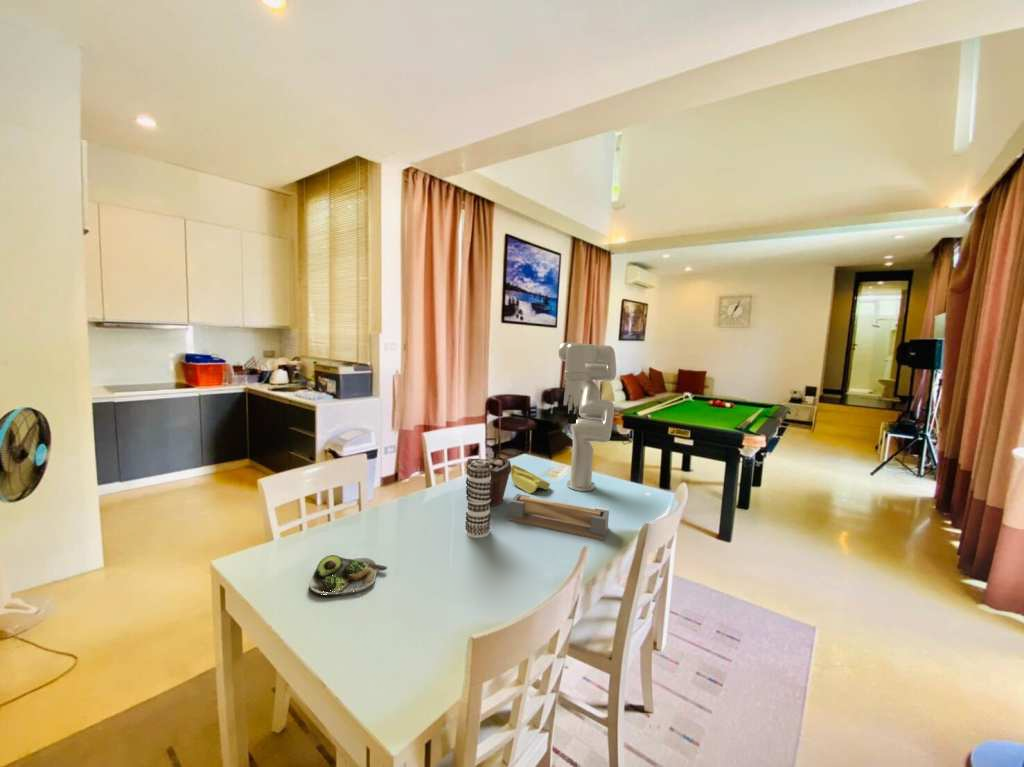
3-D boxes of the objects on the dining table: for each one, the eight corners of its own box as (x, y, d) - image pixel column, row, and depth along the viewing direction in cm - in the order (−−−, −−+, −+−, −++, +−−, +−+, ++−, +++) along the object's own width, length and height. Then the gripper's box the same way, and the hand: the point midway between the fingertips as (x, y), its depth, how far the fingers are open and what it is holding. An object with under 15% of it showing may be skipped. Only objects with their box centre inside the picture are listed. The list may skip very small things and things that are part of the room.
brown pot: (519, 497, 176) (520, 456, 174) (492, 514, 160) (493, 468, 158) (485, 488, 186) (486, 449, 184) (456, 502, 169) (456, 460, 167)
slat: (521, 508, 160) (521, 495, 159) (600, 524, 149) (601, 510, 149) (518, 511, 157) (518, 498, 156) (598, 527, 147) (599, 513, 146)
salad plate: (389, 558, 127) (389, 543, 126) (384, 594, 110) (384, 578, 109) (320, 563, 123) (320, 548, 122) (304, 602, 105) (303, 584, 105)
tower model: (458, 533, 143) (460, 463, 140) (473, 523, 151) (475, 456, 148) (481, 541, 139) (484, 468, 136) (495, 529, 147) (498, 461, 144)
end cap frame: (517, 510, 164) (518, 492, 163) (608, 528, 152) (609, 509, 151) (508, 520, 155) (509, 502, 154) (603, 540, 143) (605, 520, 142)
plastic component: (552, 484, 187) (538, 479, 181) (545, 500, 186) (531, 495, 180) (523, 469, 202) (510, 463, 196) (517, 483, 201) (503, 478, 195)
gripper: (569, 374, 168) (566, 418, 170) (560, 377, 154) (557, 426, 156) (588, 375, 166) (585, 421, 168) (580, 378, 152) (577, 428, 154)
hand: (571, 423), depth 162 cm, fingers closed
